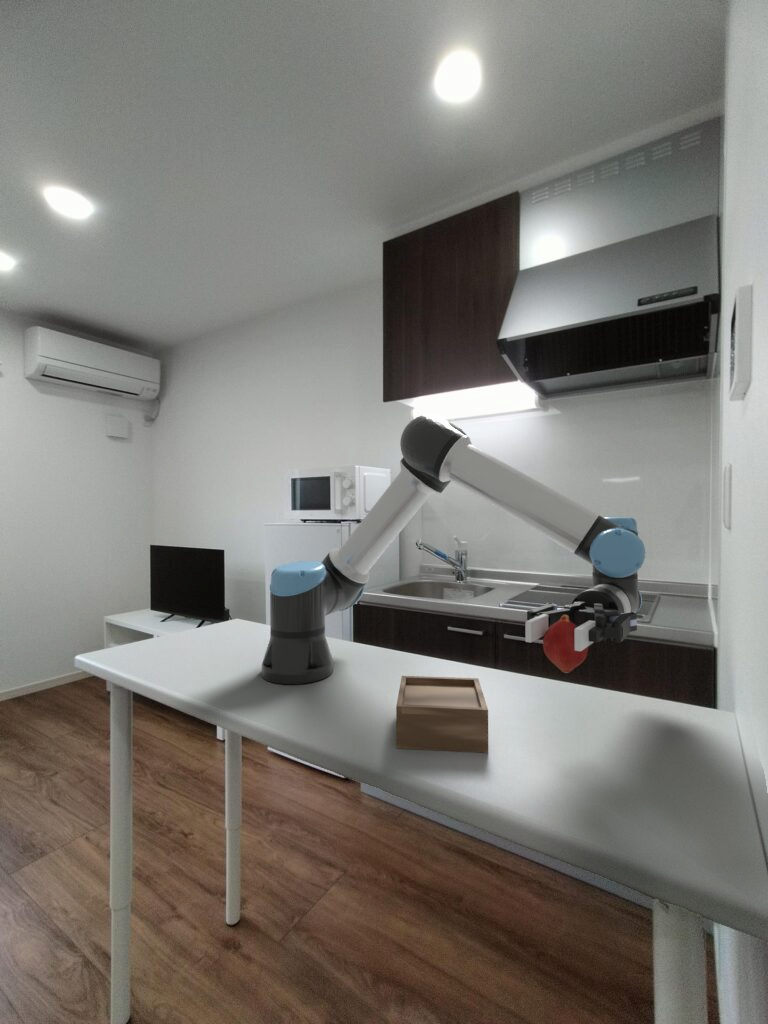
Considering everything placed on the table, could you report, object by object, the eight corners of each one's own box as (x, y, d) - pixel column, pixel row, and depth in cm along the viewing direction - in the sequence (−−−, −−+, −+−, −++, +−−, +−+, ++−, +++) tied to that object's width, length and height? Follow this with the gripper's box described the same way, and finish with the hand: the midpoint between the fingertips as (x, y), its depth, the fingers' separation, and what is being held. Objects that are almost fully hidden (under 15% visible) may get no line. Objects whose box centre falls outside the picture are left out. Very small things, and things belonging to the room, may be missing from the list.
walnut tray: (401, 710, 78) (401, 675, 78) (478, 713, 77) (478, 678, 77) (396, 748, 65) (396, 706, 65) (488, 752, 64) (488, 709, 64)
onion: (537, 665, 66) (537, 610, 66) (578, 665, 66) (577, 610, 66) (551, 679, 60) (550, 618, 60) (595, 679, 60) (594, 618, 60)
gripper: (665, 641, 71) (632, 681, 53) (545, 623, 83) (486, 651, 65) (664, 592, 71) (632, 616, 53) (545, 582, 83) (486, 598, 65)
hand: (552, 635), depth 59 cm, fingers closed on onion, 6 cm apart
